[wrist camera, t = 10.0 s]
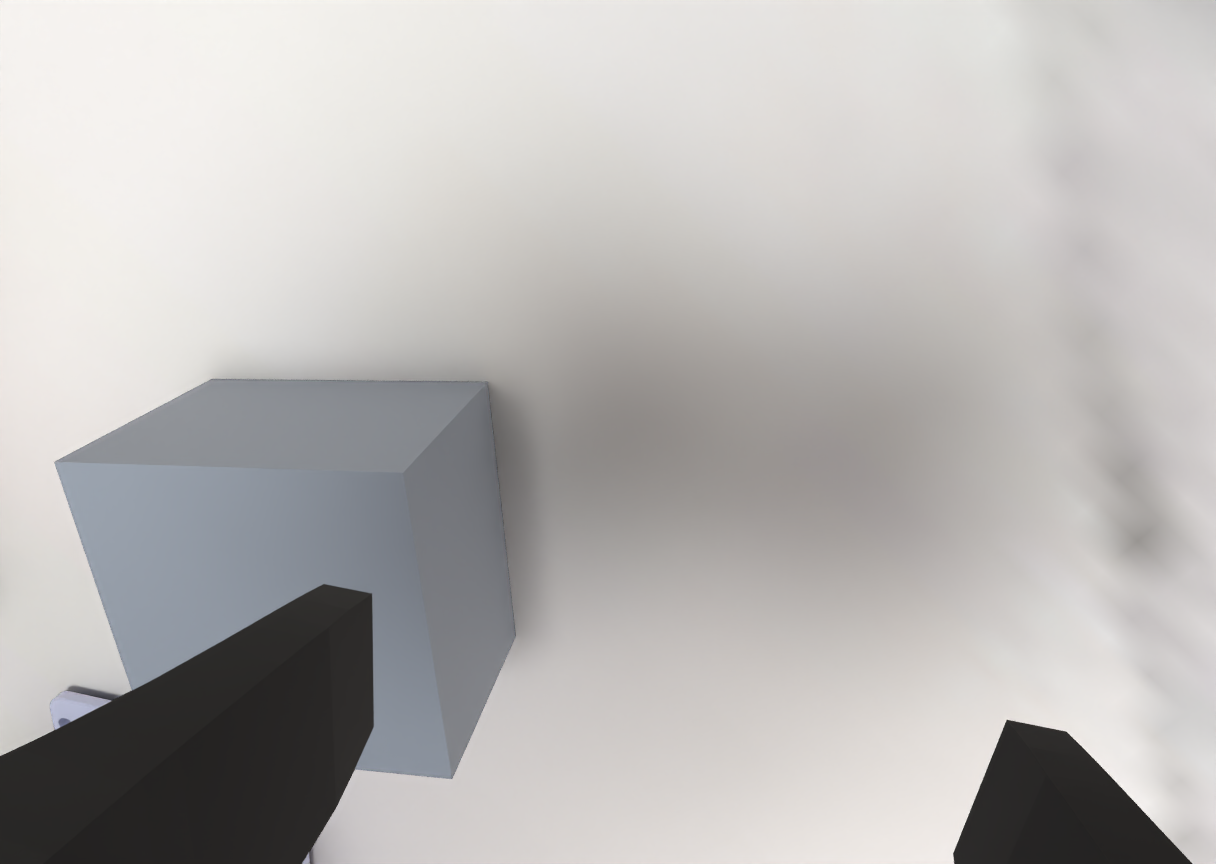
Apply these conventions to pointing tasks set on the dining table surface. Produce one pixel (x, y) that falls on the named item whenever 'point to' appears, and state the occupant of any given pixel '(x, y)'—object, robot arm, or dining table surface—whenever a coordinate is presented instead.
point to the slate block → (311, 537)
